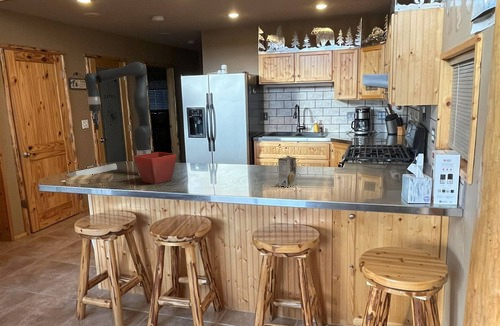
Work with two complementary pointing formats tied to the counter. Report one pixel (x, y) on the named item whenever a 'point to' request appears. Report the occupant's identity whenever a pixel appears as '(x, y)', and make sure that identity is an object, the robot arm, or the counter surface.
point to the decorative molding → (94, 170)
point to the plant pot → (155, 166)
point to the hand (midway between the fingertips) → (97, 129)
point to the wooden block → (101, 178)
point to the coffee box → (287, 171)
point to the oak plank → (79, 179)
